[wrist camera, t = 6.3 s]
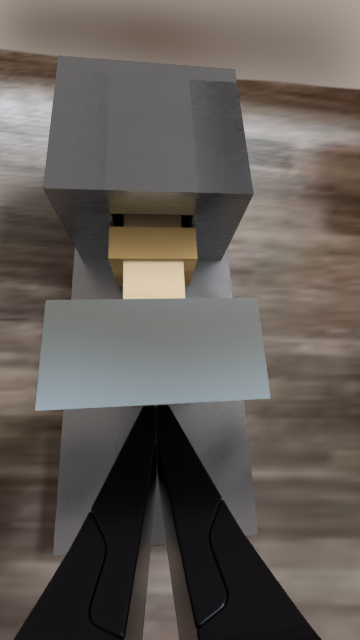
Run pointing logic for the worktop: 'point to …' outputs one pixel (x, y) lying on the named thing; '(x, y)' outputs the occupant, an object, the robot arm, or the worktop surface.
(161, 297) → the shaft
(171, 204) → the grey long blocky piece
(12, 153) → the worktop surface
